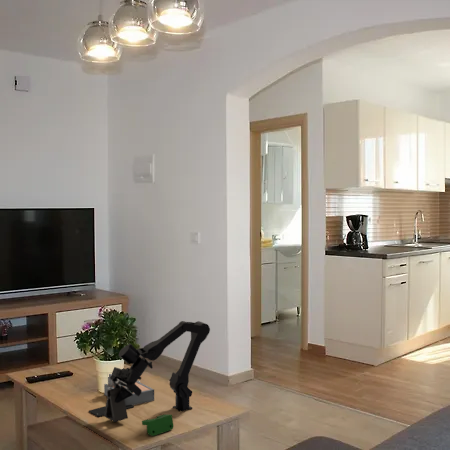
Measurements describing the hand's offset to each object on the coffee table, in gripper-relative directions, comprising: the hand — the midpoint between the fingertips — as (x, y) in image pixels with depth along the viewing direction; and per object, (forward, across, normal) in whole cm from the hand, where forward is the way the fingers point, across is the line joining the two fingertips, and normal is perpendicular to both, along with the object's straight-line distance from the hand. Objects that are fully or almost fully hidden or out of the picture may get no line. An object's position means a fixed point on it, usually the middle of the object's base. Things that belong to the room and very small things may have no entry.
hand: (112, 402), depth 233 cm
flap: (-8, -25, +20) cm, 33 cm away
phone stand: (+4, 0, +6) cm, 7 cm away
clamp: (-1, +18, +14) cm, 23 cm away
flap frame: (-8, -24, +20) cm, 33 cm away
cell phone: (+2, -15, +11) cm, 18 cm away
